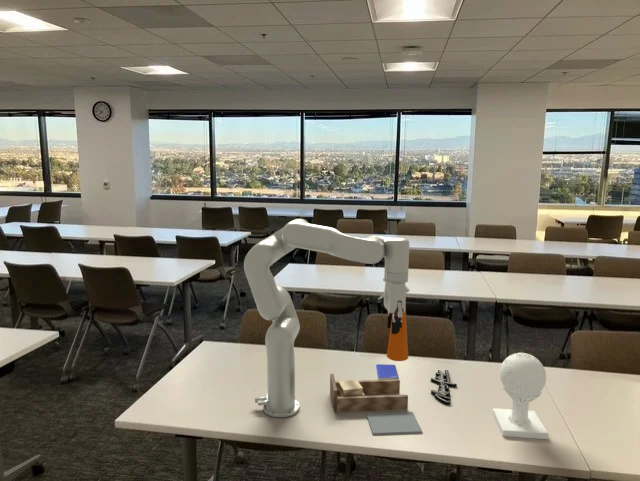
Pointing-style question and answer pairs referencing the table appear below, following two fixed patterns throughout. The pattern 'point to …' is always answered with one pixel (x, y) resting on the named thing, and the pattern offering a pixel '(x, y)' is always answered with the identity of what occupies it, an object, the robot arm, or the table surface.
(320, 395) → the table surface
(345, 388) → the offcut top
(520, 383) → the trophy
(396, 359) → the spray bottle
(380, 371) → the hard drive
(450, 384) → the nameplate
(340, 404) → the wooden box
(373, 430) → the mat
